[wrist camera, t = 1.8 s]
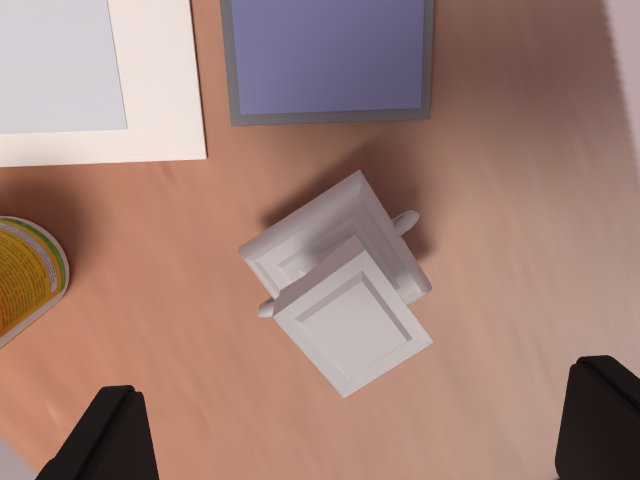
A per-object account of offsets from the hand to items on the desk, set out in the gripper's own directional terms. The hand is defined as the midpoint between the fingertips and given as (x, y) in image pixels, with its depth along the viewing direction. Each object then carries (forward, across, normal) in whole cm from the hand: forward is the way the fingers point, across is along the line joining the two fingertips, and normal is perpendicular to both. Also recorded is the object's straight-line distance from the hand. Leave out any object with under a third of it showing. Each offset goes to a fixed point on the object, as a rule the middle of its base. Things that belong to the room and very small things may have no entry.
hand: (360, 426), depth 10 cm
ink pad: (+14, 0, -11) cm, 18 cm away
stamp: (+14, -1, +1) cm, 14 cm away
